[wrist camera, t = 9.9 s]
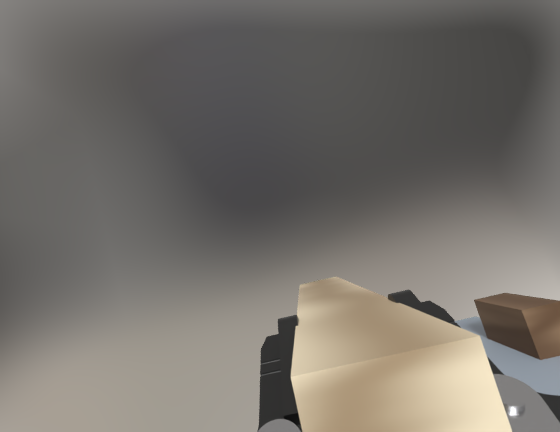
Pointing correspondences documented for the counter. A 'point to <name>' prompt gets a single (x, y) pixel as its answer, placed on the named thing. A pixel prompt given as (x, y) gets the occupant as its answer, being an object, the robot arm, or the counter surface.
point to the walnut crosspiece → (522, 323)
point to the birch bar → (387, 367)
